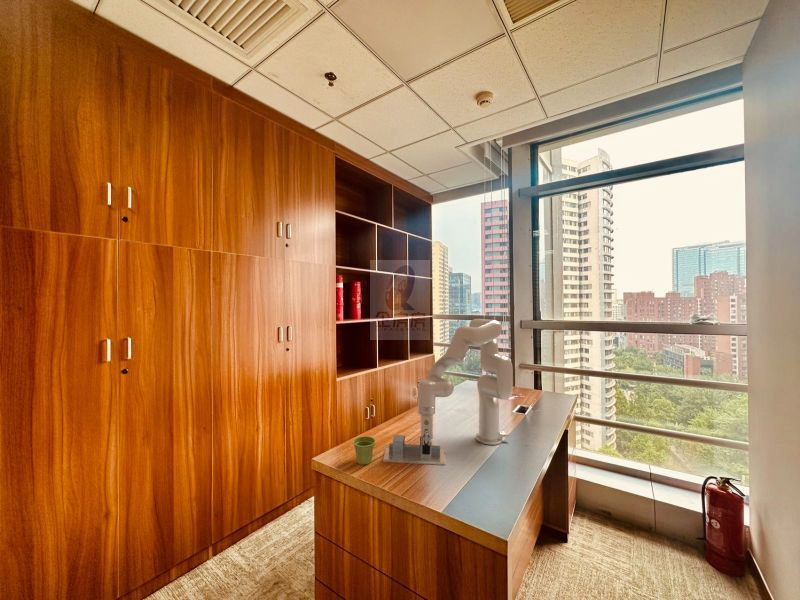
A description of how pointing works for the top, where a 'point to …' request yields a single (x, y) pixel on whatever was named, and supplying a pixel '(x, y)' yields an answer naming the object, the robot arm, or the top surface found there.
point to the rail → (411, 453)
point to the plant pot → (364, 449)
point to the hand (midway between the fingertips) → (426, 448)
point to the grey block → (421, 449)
